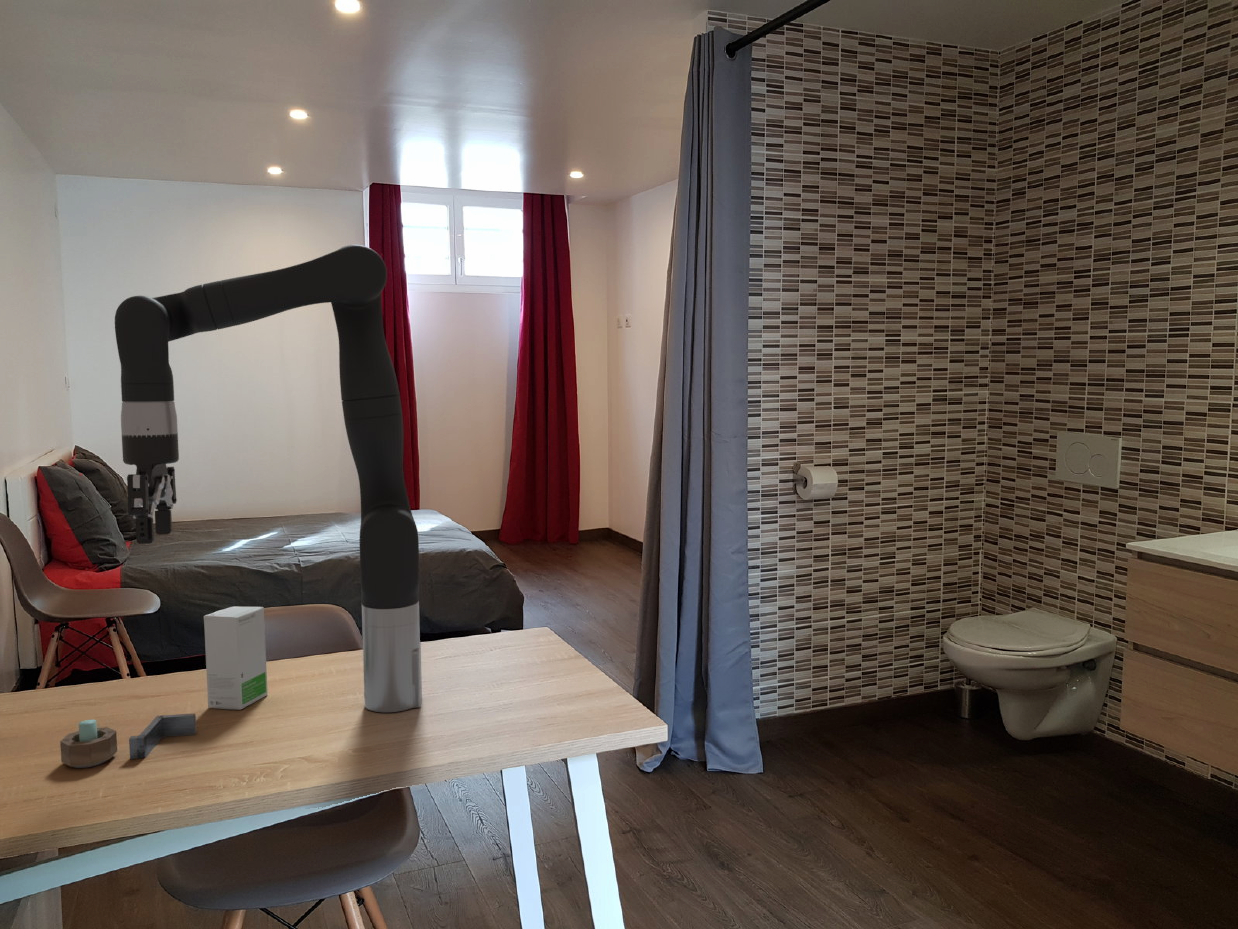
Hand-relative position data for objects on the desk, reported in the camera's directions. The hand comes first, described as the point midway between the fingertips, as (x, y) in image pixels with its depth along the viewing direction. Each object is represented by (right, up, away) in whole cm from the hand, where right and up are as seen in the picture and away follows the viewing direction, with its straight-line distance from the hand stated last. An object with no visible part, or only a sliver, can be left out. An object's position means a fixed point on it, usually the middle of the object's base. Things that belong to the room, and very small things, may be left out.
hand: (155, 538), depth 138 cm
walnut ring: (-5, -30, -8) cm, 32 cm away
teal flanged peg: (-5, -31, -8) cm, 32 cm away
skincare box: (+6, -29, +16) cm, 34 cm away
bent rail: (+3, -30, -3) cm, 31 cm away
